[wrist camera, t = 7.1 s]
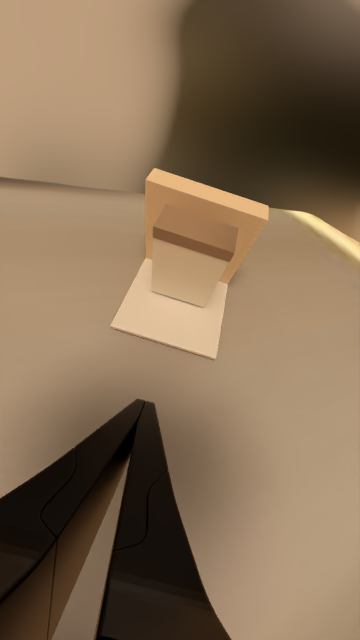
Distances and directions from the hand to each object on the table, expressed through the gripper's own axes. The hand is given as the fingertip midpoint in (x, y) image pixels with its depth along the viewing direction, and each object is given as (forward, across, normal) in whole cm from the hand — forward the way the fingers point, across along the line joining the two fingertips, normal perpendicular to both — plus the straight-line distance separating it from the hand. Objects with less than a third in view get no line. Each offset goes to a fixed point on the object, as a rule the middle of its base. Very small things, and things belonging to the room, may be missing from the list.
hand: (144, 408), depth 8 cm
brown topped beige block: (+20, 0, -4) cm, 21 cm away
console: (+20, 0, -3) cm, 20 cm away
